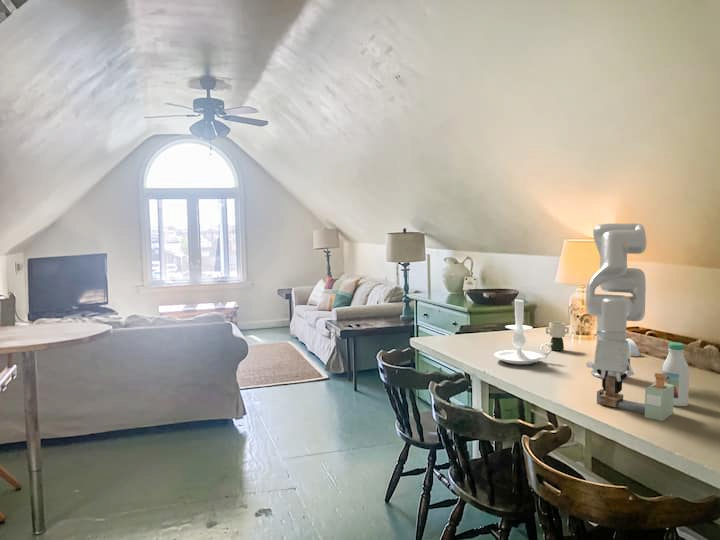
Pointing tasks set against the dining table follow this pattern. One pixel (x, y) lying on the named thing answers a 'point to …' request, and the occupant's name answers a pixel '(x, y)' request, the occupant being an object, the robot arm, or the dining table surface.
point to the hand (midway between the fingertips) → (611, 390)
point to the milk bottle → (677, 373)
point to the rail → (625, 404)
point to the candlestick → (520, 341)
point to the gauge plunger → (660, 380)
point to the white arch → (633, 348)
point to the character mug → (557, 334)
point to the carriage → (610, 393)
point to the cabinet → (659, 401)
